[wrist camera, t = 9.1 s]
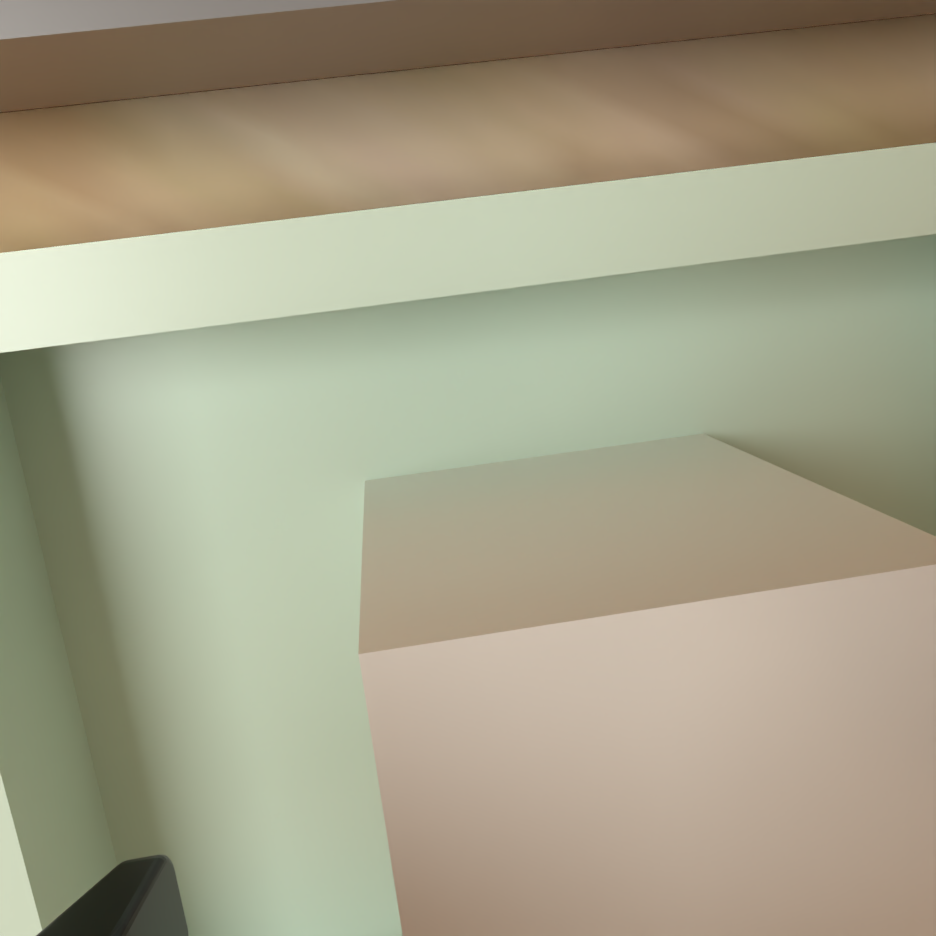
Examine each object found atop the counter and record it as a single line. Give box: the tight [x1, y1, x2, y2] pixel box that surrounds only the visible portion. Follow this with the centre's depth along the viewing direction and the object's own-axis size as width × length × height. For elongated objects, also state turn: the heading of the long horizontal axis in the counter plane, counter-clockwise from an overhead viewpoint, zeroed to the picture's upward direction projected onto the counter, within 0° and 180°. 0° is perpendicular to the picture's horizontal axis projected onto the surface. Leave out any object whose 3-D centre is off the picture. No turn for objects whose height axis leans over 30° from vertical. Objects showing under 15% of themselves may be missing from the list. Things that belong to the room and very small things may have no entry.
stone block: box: [358, 434, 936, 936], centre depth 10 cm, size 5×5×6 cm
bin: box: [0, 142, 936, 936], centre depth 12 cm, size 16×12×3 cm
